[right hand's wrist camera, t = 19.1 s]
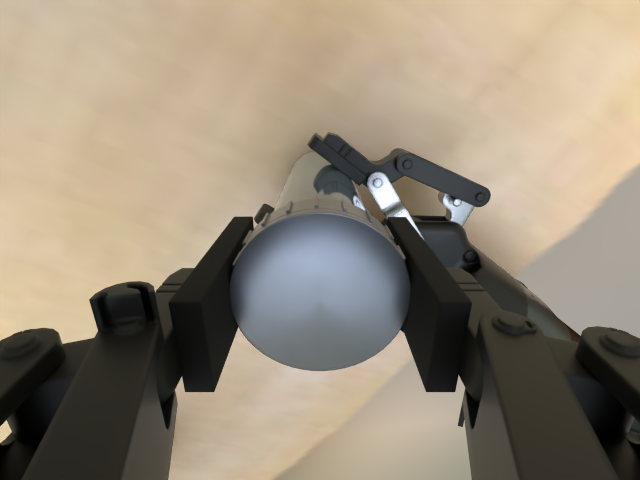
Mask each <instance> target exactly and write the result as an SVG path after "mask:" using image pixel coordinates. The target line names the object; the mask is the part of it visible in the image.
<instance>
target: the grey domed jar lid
mask: <svg viewBox="0 0 640 480" xmlns="http://www.w3.org/2000/svg"><path fill="white" fill-rule="evenodd" d="M393 239H394V237H393V235H392V234H391V232H390V230H389V228H388V227H387V225H385V226H383V225H382V224H381V223H380V222H379V221H378V220H377V219H376V218H375V217H374V216H372V215H371V213H370V211H369V210H368V209H366V210H363V209H361V208H359V207H357V206H355V205H353V204H350V203H347V202H346V201H345V199H342V200H341V201H340V200H333V199H320V198H318V196H315V199H306V200H301V201H297V202H293V203H292V201H289V202H288V205H285V206H283V207H281V208H279V209H277V210H275V211H274V212H272V213H271V214H269V213H267V214H266V215H265V217H264V219H263V220H262V221H261V222H260V223H259V224H258V225H257V226H256V227H255V229H254V230H253V231H251V230H250V231H249V233H248V234H247V236H246V238H245V240H244V241H243V243H242V244H243V245H244V246H243V248H242V250H241V251H239V253H238V255H237V257H236V259H235V260H234V262H233V264H232V267H233V269H232V272H231V277H230V281H229V289H230V299H231V307H232V314H233V316H234V319H235V321H236V323H237V325H238V327H239V328H240V330H241V332H242V333H243V334H244V336H245V337H246V338H247V340H248V341H249V342H250V343H251V344H252V345H253V346H254V347H255V348H257V349H258V350H259V351H260V352H262V353H263V354H265V355H266V356H268V357H269V358H271V359H273V360H275V361H277V362H279V363H282V364H284V365H287V366H290V367H294V368H298V369H303V370H311V371H329V370H337V369H342V368H347V367H350V366H353V365H356V364H359V363H361V362H363V361H365V360H367V359H369V358H371V357H373V356H374V355H376V354H377V353H378V352H380V351H381V350H383V349H384V348H385V347H386V346H387V345H388V344H389V343H390V342H391V341H392V340H393V339H394V337H395V336H396V335H397V334H398V332H399V331H400V329H401V327H402V326H403V324H404V322H405V319H406V317H407V314H408V310H409V302H410V293H411V280H410V274H409V271H408V268H407V265H406V263H405V261H407V260H406V258H405V256H404V254H403V252H402V250H401V249H400V247H399V245H398V246H396V244H395V242H394V240H393Z"/></svg>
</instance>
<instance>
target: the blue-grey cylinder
mask: <svg viewBox="0 0 640 480" xmlns="http://www.w3.org/2000/svg"><path fill="white" fill-rule="evenodd" d="M315 196H318V198H320V199H333V200H340V201H341V200H342V199H345V201H346V202H347V203H350V204H353V205H355V206H357V207H359V208H361V209H363V210H366V207H365V205H364V203H363V201H362V198H361V196H360V194H359V192H358V190H357V187H356V185H355V183H354V181H352V180H351V179H350V178H349V177H348V176H346V175H345V174H344V173H342V172H341V171H340V170H338V169H337V168H336V167H334V166H333V165H332V164H331V163H329V162H328V161H327V160H325V159H324V158H323V157H322V156H320V155H319V154H318V153H316V152H315V151H310V152H308V153H306V154H304V155H303V156H301V157H300V158H299V159H298V160H297V161H296V163H295V164H294V166H293V168H292V170H291V172H290V174H289V177H288V179H287V181H286V183H285V186H284V188H283V190H282V192H281V195H280V197H279V199H278V201H277V204H276V206H275V208H274V210H273V212H274V211H275V210H277V209H279V208H281V207H283V206H285V205H288V202H289V201H292V203H293V202H297V201H301V200H306V199H315Z"/></svg>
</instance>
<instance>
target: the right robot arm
mask: <svg viewBox="0 0 640 480" xmlns="http://www.w3.org/2000/svg"><path fill="white" fill-rule="evenodd" d="M387 227H388V228H389V230H390V232H391V234H392V235H393V237H394V239H393V240H394V242H395V244H396V246H398V245H399V247H400V249H401V250H402V252H403V254H404V256H405V258H406V260H407V261H405V263H406V265H407V268H408V271H409V274H410V280H411V293H410V302H409V310H408V314H407V317H406V319H405V322H404V324H403V326H402V328H403V331H404V333H405V336H406V339H407V341H408V344H409V347H410V349H411V352H412V355H413V358H414V360H415V363H416V366H417V368H418V371H419V374H420V376H421V379H422V382H423V385H424V387H425V390H426V392H455V390H456V385H457V380H458V374H459V376H460V378H461V380H462V382H463V384H464V386H465V392H464V397H463V402H462V407H461V412H460V417H459V422H458V426H461V427H463V423H464V420H465V427H466V435H467V443H468V451H469V459H470V467H471V475H472V480H640V441H639V440H638V439H636V438H635V437H634V436H633V434H632V433H631V432H630V431H629V429H630V427H631V425H632V423H633V421H634V419H636V420H637V421H638V422H639V423H640V338H637V337H635V336H633V335H630V334H629V333H627V332H625V331H622V330H617V329H614V328H605V327H588V328H586V329H585V330H583V331H582V334H581V337H580V340H579V343H578V342H572V341H567V340H562V339H556V338H551V337H547V336H544V334H543V332H542V330H541V329H540V328H539V326H538V325H537V324H536V323H534V322H533V321H531V320H530V319H528V318H527V317H524V316H522V315H519V314H517V313H513V312H509V311H505V310H502V309H501V307H500V306H499V305H498V304H497V303H496V302H495V301H494V300H493V298H492V297H491V296H490V295H489V294H488V293H487V292H486V291H485V290H484V288H483V287H482V286H481V285H480V284H478V282H477V281H476V279H475V278H474V277H473V276H472V275H471V274H469V273H468V272H466V271H464V270H462V269H461V268H459V267H444V265H443V264H442V263H441V261H440V260H439V259H438V258H437V256H436V255H435V254H434V252H433V251H432V250H431V249H430V247H429V246H428V245H427V243H426V242H425V241H424V239H423V238H422V237H421V236H420V234H419V233H418V232H417V230H416V229H415V228H414V227H413V225H412V224H411V223H410V221H409V220H408V219H407V218H406V217H388V219H387ZM250 230H251V231H253V230H254V227H253V217H234V218H233V219H232V221H231V222H230V223H229V224H228V226H227V227H226V228H225V230H224V231H223V232H222V233H221V235H220V236H219V237H218V239H217V240H216V241H215V243H214V244H213V245H212V246H211V248H210V249H209V250H208V252H207V253H206V254H205V255H204V257H203V258H202V259H201V261H200V262H199V263H198V265H197V266H196V267H195V268H182V269H180V270H178V271H177V272H175V273H173V274H171V275H170V276H169V277H168V278H167V279H166V280H165V281H164V282H163V284H162V286H160V287H159V288H158V289H157V290H156V293H155V291H154V286H152V285H151V284H149V283H146V282H141V281H138V282H126V283H121V284H116V285H113V286H111V287H108V288H105V289H103V290H101V291H100V292H98V293H96V294H95V295H94V296H93V297H92V298H91V299H90V304H91V307H92V311H93V314H94V318H95V321H96V325H97V328H98V332H97V334H96V336H95V338H92V339H87V340H81V341H76V342H71V343H66V344H62V342H61V339H60V336H59V333H58V332H57V331H55V330H54V329H48V328H39V329H29V330H25V331H24V332H22V331H21V332H18V333H15V334H13V335H12V336H10V337H7V338H5V339H3V340H1V341H0V426H1V425H2V424H3V423H4V422H5V421H6V420H7V422H8V424H9V426H10V428H11V430H12V433H11V434H10V435H9V436H8V437H7V438H6V439H5V440H4V441H2V442H1V443H0V480H168V476H169V468H170V460H171V452H172V444H173V436H174V428H175V420H176V412H177V397H176V392H175V388H176V386H177V384H178V382H179V380H180V378H181V377H182V378H183V383H184V388H185V392H214V391H215V388H216V386H217V383H218V380H219V377H220V375H221V372H222V369H223V367H224V364H225V361H226V359H227V356H228V353H229V350H230V348H231V345H232V342H233V340H234V337H235V334H236V331H237V329H238V325H237V323H236V321H235V319H234V316H233V314H232V307H231V299H230V289H229V281H230V277H231V272H232V269H233V267H232V264H233V262H234V260H235V259H236V257H237V255H238V253H239V251H241V250H242V248H243V246H244V245H243V244H242V243H243V241H244V240H245V238H246V236H247V234H248V233H249V231H250Z"/></svg>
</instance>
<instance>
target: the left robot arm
mask: <svg viewBox="0 0 640 480" xmlns="http://www.w3.org/2000/svg"><path fill="white" fill-rule="evenodd" d="M308 146H309V147H310V148H311V149H313V150H314V151H315V152H316V153H318V154H319V155H320V156H322V157H323V158H324V159H325V160H327V161H328V162H329V163H331V164H332V165H333V166H334V167H336V168H337V169H338V170H340V171H341V172H342V173H344V174H345V175H346V176H348V177H349V178H350V179H351V180H352V181H354V182H355V183H356V184H358V185H360V184H361V183H363V184H364V185H365V186H366V187H368V188H369V190H370V192H371V193H372V195H373V197H374V198H375V200H376V202H377V203H378V205H379V206H380V208H381V210H382V211H383V213H384V215H385V216H386V218H387V219H388V217H406V218H407V219H408V220H409V221H410V223H411V224H412V225H413V227H414V228H415V229H416V230H417V232H418V233H419V234H420V236H421V237H422V238H423V239H424V241H425V242H426V243H427V245H428V246H429V247H430V249H431V250H432V251H433V252H434V254H435V255H436V256H437V258H438V259H439V260H440V261H441V263H442V264H443V265H444V267H459V268H461V269H462V270H464V271H466V272H468V273H469V274H471V275H472V276H473V277H474V278H475V279H476V281H477V282H478V284H480V285H481V286H482V287H483V288H484V290H485V291H486V292H487V293H488V294H489V295H490V296H491V297H492V298H493V300H494V301H495V302H496V303H497V304H498V305H499V306H500V307H501V309H502V310H505V311H509V312H513V313H517V314H519V315H522V316H524V317H527V318H528V319H530V320H531V321H533V322H534V323H536V324H537V325H538V326H539V328H540V329H541V330H542V332H543V334H544V336H547V337H551V338H556V339H562V340H567V341H572V342H578V343H579V340H580V337H581V336H580V335H579V334H577V333H576V332H575V331H574V330H572V329H571V328H570V327H569V326H567V325H566V324H565V323H564V322H562V321H561V320H560V319H559V318H557V317H556V315H555V314H554V313H553V312H552V311H551V310H550V309H549V307H548V306H547V305H546V304H545V303H544V302H543V301H541V300H540V299H539V298H538V297H537V296H536V295H534V294H533V293H532V292H531V291H529V290H528V288H527V287H526V286H525V285H524V284H523V283H521V282H520V281H518V280H516V279H514V278H513V277H512V276H511V275H509V274H508V273H507V272H506V271H504V270H503V269H502V268H501V267H499V266H498V265H497V264H496V263H494V262H493V261H492V260H491V259H489V258H488V257H487V256H486V255H484V254H483V253H482V252H481V251H479V250H478V249H477V248H476V247H475V246H473V245H472V244H471V243H470V242H469V241H468V239H467V236H466V232H465V230H464V228H463V227H462V226H463V225H464V223H465V222H466V220H467V218H468V217H469V215H470V213H471V212H472V210H473V209H474V207H481V206H484V205H485V204H487V203H488V201H489V199H490V191H489V190H488V189H487V188H486V187H484V186H482V185H479V184H477V183H475V182H473V181H471V180H469V179H467V178H465V177H463V176H461V175H458V174H456V173H454V172H452V171H450V170H447V169H445V168H443V167H441V166H439V165H436V164H434V163H432V162H430V161H428V160H425V159H423V158H421V157H419V156H417V155H415V154H412V153H410V152H408V151H406V150H404V149H401V148H397V149H394V150H393V151H392V152H391V153H390V155H388V156H386V157H385V158H383V159H382V160H380V161H370V160H368V159H367V158H365V157H364V156H363V155H362V154H360V153H359V152H358V151H357V150H355V149H354V148H353V147H352V146H350V145H349V144H348V143H347V142H346V141H344V140H343V139H342V138H341V137H339V136H338V135H336V134H333V133H329V132H328V133H327V135H326V136H325V137H324V139H323V138H322V137H321V136H319V135H318V134H316V133H315V134H314V135H313V137H312V138H311V139H310V141H309V142H308ZM404 175H405V176H407V177H410V178H412V179H414V180H416V181H419V182H421V183H423V184H425V185H428V186H430V187H432V188H434V189H437V190H439V191H440V192H439V194H438V200H439V202H440V203H441V204H443V205H444V206H445V207H446V210H447V212H446V216H410V215H409V213H408V211H407V210H406V208H405V206H404V205H403V203H402V202H401V200H400V199H399V197H398V195H397V194H396V192H395V190H394V188H393V187H392V185H391V183H393V182H394V181H396V180H398V179H399V178H401V177H403V176H404ZM273 210H274V208H272V207H271V206H269V205H267V204H263V206H262V207H261V208H260V210H259V211H258V213H257V214H256V216H255V218H254V220H255V222H256V223H257V224H259V223H260V222H261V221H262V220H263V219H264V217H265V215H266V214H267V213H269V214H271V213H272V212H273ZM387 219H384V220H383V221H382V222H381V224H382V225H383V226H385V225H387ZM400 330H401V331H402V332H404V331H403V328H402V327H401V329H400ZM629 431H630V432H631V433H632V434H633V436H634V437H635V438H636V439H638V440H639V441H640V423H639V422H638V421H637V420H636V419H634V421H633V423H632V425H631V427H630V429H629Z"/></svg>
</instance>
